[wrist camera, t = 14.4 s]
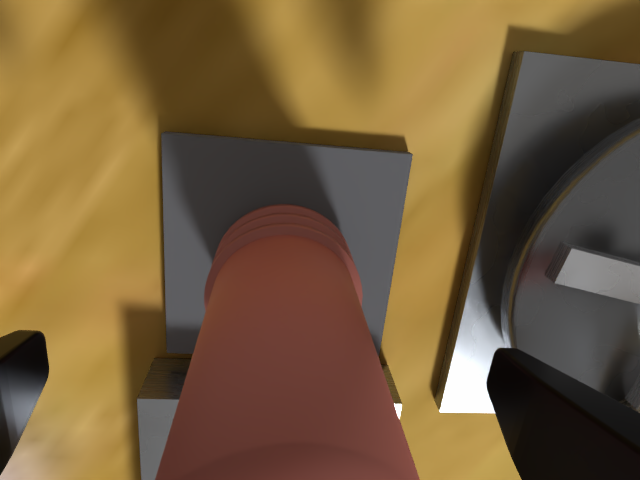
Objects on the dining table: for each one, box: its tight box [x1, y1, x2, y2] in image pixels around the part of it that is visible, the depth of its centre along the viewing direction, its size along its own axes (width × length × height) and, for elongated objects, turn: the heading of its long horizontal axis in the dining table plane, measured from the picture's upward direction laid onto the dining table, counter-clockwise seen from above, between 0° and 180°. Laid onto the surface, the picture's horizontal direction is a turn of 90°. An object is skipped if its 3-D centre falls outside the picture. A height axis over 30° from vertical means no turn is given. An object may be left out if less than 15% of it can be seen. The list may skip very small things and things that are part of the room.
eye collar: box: [137, 358, 402, 480], centre depth 16 cm, size 8×8×2 cm
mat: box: [161, 131, 413, 358], centre depth 14 cm, size 7×7×1 cm
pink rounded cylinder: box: [155, 204, 420, 480], centre depth 10 cm, size 4×4×9 cm
